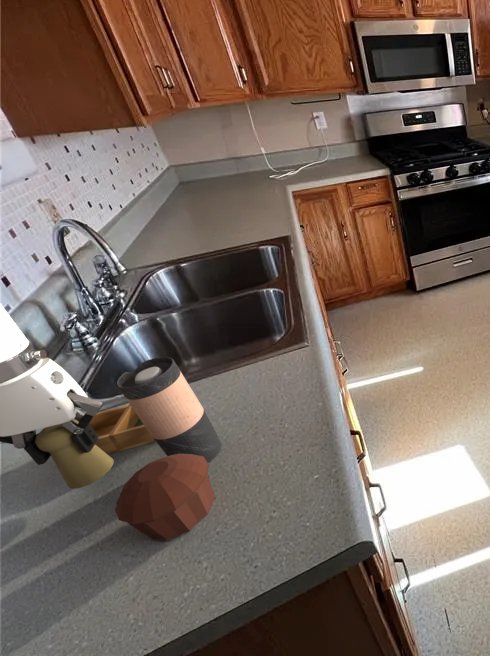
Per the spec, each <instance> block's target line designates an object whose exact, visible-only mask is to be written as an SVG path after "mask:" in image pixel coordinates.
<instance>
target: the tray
mask: <svg viewBox="0 0 490 656" xmlns="http://www.w3.org/2000/svg"><path fill="white" fill-rule="evenodd" d="M78 422H79V421H78ZM89 424H90V426H91V427H92V428H93V430H94V431H95V432H96V434H97V435H98V441H97V442H96V444H95V445H96V446H98V447H99V448H100V449H101V450H103V451H104V452H105V453H106V454H107V455H111V454H115V453H119V452H122V451H127V450H130V449H133V448H136V447H141V446H144V445H147V444H151V443H156V441H155V440H154V439H153V437H152V436H151V435H150V433H149V432H148V430H147V429H146V427H145V426H144V424H143V423H142V421H141V420H140V418H139V417H138V416H137V414H136V413H135V411H134V410H133V408H132V407H131V405H130V404H129V403H128V404H125V405H122V406H117V407H114V408H110V409H106V410H102V411H98V412H97V414H96V415H95V416H94V417H93V418H92V420H91V421H90V423H89Z"/></svg>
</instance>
